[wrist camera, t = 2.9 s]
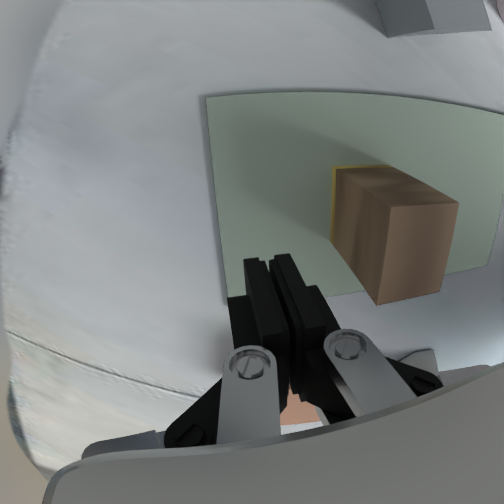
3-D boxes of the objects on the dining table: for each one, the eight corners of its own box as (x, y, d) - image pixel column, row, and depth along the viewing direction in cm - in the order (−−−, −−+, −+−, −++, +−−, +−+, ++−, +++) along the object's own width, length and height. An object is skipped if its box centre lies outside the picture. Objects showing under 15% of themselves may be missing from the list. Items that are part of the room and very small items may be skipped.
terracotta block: (330, 338, 26) (349, 383, 21) (316, 377, 28) (331, 419, 23) (272, 341, 25) (284, 389, 20) (263, 380, 27) (273, 425, 23)
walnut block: (389, 164, 18) (459, 202, 12) (382, 235, 21) (439, 291, 15) (332, 166, 18) (390, 207, 12) (330, 241, 21) (376, 305, 14)
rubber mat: (508, 116, 18) (512, 117, 17) (484, 263, 24) (486, 265, 24) (205, 97, 16) (205, 97, 15) (229, 307, 22) (229, 310, 22)
